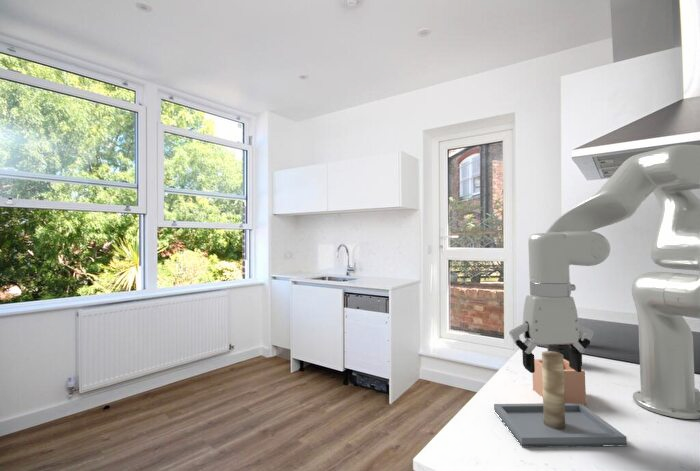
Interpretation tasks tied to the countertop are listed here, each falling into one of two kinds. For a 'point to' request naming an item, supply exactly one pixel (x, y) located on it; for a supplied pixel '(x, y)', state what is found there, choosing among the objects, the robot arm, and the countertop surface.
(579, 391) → the deep cup
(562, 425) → the dowel
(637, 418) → the countertop surface
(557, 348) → the supplement bottle
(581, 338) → the robot arm
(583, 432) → the tray
